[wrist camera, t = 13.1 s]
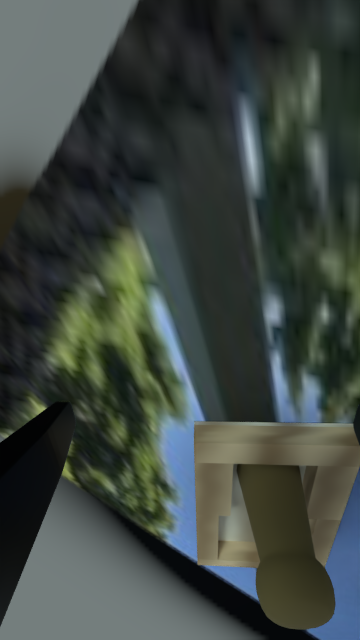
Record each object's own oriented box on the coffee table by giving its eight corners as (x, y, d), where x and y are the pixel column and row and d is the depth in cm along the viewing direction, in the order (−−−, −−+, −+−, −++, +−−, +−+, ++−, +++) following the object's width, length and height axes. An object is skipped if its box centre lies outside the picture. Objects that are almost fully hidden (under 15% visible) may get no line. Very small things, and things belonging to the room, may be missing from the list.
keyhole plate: (353, 423, 26) (366, 446, 24) (316, 546, 35) (323, 571, 33) (194, 421, 27) (194, 442, 25) (197, 541, 36) (197, 564, 34)
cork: (274, 496, 31) (308, 648, 21) (224, 475, 30) (236, 625, 20) (312, 463, 28) (371, 619, 19) (259, 439, 27) (292, 591, 18)
